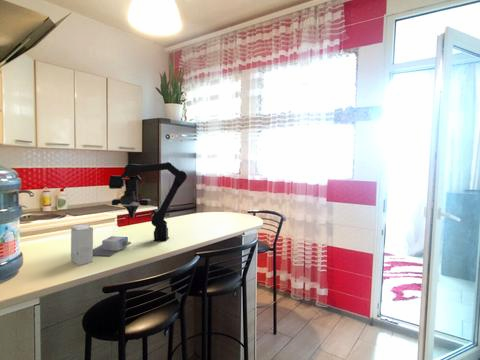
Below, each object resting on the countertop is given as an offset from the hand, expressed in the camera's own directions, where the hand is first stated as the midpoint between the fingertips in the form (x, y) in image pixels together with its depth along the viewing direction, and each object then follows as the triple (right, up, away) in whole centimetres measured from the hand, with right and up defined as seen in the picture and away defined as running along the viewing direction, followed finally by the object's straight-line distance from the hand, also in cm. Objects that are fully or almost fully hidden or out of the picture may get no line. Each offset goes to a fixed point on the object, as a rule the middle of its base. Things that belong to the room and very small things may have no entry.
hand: (132, 218), depth 147 cm
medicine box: (+1, -10, -13) cm, 16 cm away
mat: (-6, -13, -12) cm, 19 cm away
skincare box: (-10, -14, -29) cm, 34 cm away
